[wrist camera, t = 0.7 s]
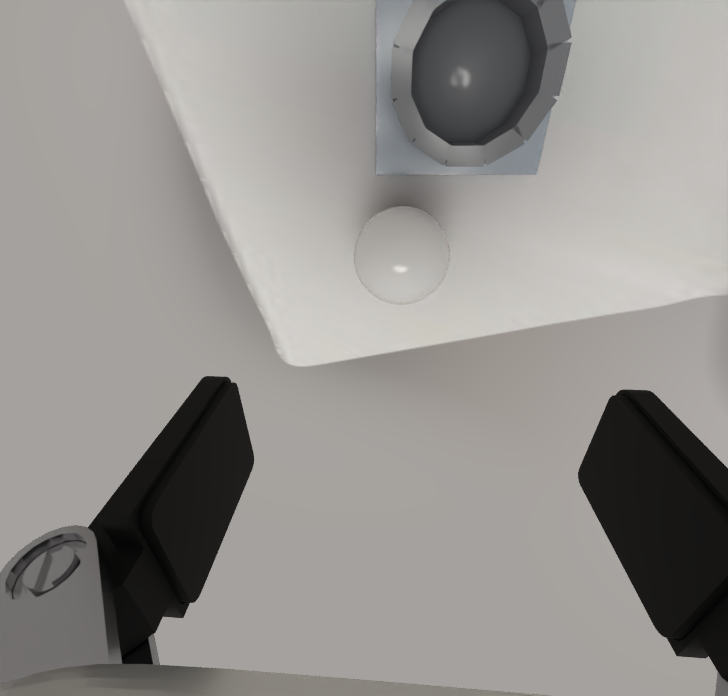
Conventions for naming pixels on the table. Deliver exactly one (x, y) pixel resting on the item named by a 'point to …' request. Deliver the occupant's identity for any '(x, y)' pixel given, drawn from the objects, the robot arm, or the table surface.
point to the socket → (467, 84)
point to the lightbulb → (401, 255)
